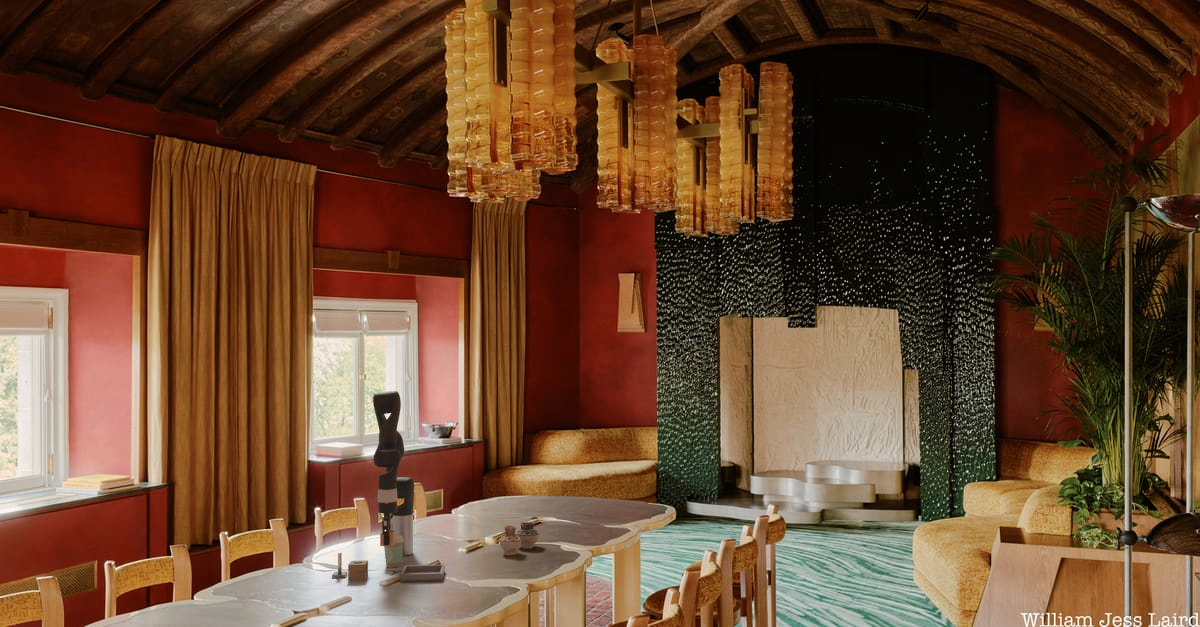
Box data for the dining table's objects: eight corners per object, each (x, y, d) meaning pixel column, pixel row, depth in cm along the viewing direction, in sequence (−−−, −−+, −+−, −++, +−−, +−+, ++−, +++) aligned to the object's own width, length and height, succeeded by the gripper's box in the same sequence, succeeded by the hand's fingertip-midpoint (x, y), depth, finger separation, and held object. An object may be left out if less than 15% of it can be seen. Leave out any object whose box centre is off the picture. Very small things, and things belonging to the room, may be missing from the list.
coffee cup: (381, 564, 382) (381, 535, 382) (402, 562, 385) (402, 533, 385) (384, 569, 374) (384, 539, 374) (405, 567, 377) (405, 537, 377)
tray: (404, 573, 367) (404, 565, 367) (444, 572, 368) (444, 564, 369) (400, 582, 353) (400, 574, 353) (442, 581, 355) (442, 573, 355)
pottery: (493, 555, 397) (493, 527, 397) (522, 543, 420) (522, 517, 420) (516, 557, 392) (516, 529, 393) (544, 545, 415) (544, 519, 415)
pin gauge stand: (334, 574, 365) (334, 551, 365) (347, 574, 365) (347, 551, 366) (332, 578, 360) (332, 554, 360) (345, 577, 360) (345, 554, 361)
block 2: (382, 543, 363) (382, 530, 363) (394, 542, 364) (394, 529, 364) (380, 546, 358) (380, 533, 358) (393, 545, 359) (393, 532, 359)
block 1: (351, 577, 361) (351, 560, 362) (367, 576, 362) (368, 560, 362) (348, 581, 355) (348, 564, 355) (365, 581, 356) (365, 564, 356)
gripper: (380, 497, 368) (380, 539, 368) (375, 503, 354) (375, 547, 353) (399, 496, 369) (399, 539, 368) (394, 503, 354) (394, 547, 354)
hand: (387, 543), depth 361 cm, fingers closed on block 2, 5 cm apart
